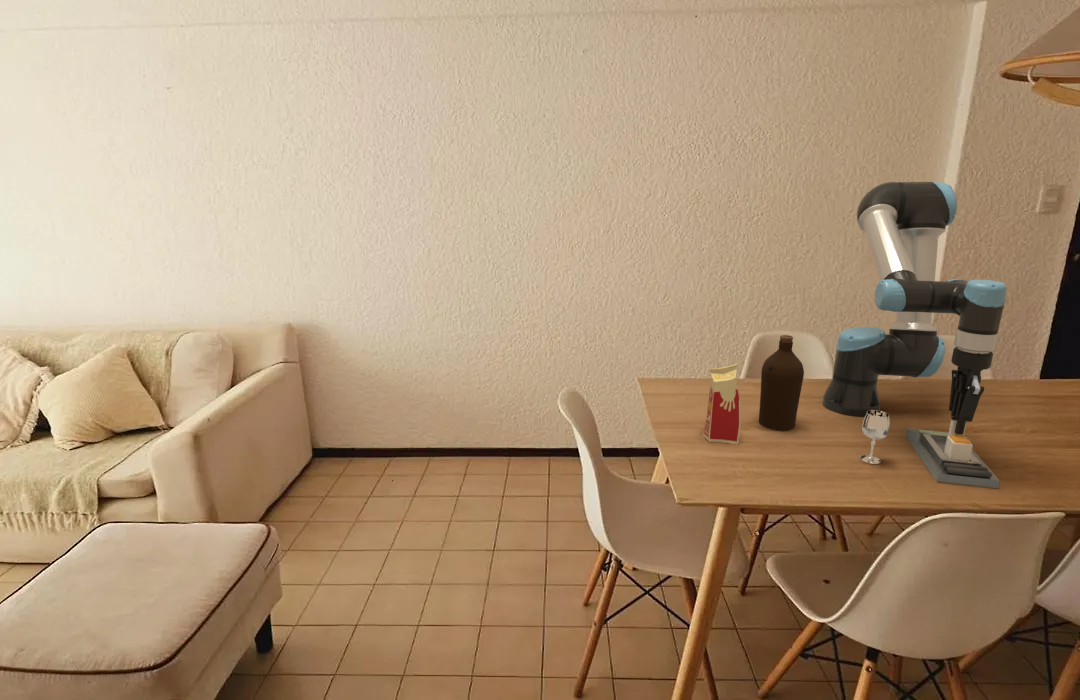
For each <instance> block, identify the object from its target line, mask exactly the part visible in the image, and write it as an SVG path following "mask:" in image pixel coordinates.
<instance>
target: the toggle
mask: <svg viewBox="0 0 1080 700" xmlns="http://www.w3.org/2000/svg"><path fill="white" fill-rule="evenodd" d="M973 447H974V444H973V443H972V442H971V440H970V439H969V438H968V437H967V436H965V435H964V436H958V435H950V436H947V440H946V445H945V450H944V454H945V455H946V457H947V458H948V459H952V460H961V461H970V456H971V452H972V449H973Z"/></svg>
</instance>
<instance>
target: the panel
mask: <svg viewBox="0 0 1080 700" xmlns="http://www.w3.org/2000/svg"><path fill="white" fill-rule="evenodd" d="M948 433H949V431H943V430H942V431H941V430H930V429H929V430H928V429H919V428H910V427H906V429H905V433H904V434H905V437H906V439H907V441H908V442H909V443H910V445H911V446H912V447H913V449H914V451H915V452H916V454H917V455H918V456H919V457H920V459H921V460H922V462H923V464H924V465H925V466H926V468H927V469H928V471H929V472H930V475H932V477H933V478H934V480H935V481H936V482H938V483H945V484H947V483H948V484H954V485H964V486H972V487H981V488H990V489H991V488H992V489H997V488H998V489H999V485H1000V481H1001V480H1000V479H999V478H998V477H997V475H996V474H995V473H994V472H993V471H992V470H991V469H990V468H989V466H988V465H987V464H986V463H985V462H984V461H983V460H982V458H981V457H980V456H979V455H978V454H977V453H976V452H975V450H974V449H973V448H972V452H971V456H970V461H961V460H952V459H948V458H947V457H946V455H945V454H944V450H945V445H946V440H947V436H948ZM944 463H953V464H962V465H972V466H981V467H986V468H988V471H989V472H991V473H992V477H990V478H986V477H977V476H968V475H959V474H950V473H947V471H946V469H944V468H943V464H944Z"/></svg>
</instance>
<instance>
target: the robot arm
mask: <svg viewBox="0 0 1080 700" xmlns="http://www.w3.org/2000/svg"><path fill="white" fill-rule="evenodd" d="M957 201H958V200H957V195H956V193H955V191H954V189H953V187H952V186H951V185H950V184H948V183H946V182H936V181H935V182H934V181H917V182H916V181H903V182H901V181H899V182H898V181H889V182H883V183H881V184H879V185H877V186H875V187H873V188H872V189H870V190H869V191H867V192H866V193H865V195H864V196H863V197H862V198H861V200H860V202H859V204H858V207H857V210H856V221H857V224H858V228H859V229H860V230H861V231H862V232H863V233H864V234H865V235H866V238H867V241H868V244H869V245H868V246H869V248H870V250H871V253H872V257H873V261H874V263H875V264H874V265H875V267H876V270H877V273H878V276H879V279H880V281H878V282H877V284H876V287H875V291H874V303H875V306H876V308H878V310H880V311H889V312H895V313H896V321H895V323H893V324H892V326H890V327H889V332H888V333H889V334H886V331H885V330H884V329H882V328H879V327H871V326H857V327H850V328H847V329H845V330H843V331H841V332H840V333H839V335H838V338H837V339H838V340H837V344H836V347H835V349H836V350H835V351H836V352H835V358H834V365H833V373H832V379H831V381H830V383H829V384H828V386H827V388H826V390H825V392H824V394H823V398H822V405H823V407H825V408H827V409H829V410H831V411H833V412H836V413H839V414H843V415H848V416H853V417H854V416H855V417H865V415H866V413H867V411H869V410H878V411H881V410H880V409H881V400H880V394H879V390H878V379H879V376H895V377H896V376H897V377H908V378H909V377H912V378H928V377H932V376H934V375H935V374H936V373H937V372H938V371H939V370H940V368H941V366H942V364H943V362H944V359H945V353H946V346H945V340H944V339H943V338H942V337H941V336H938V329H937V328H936V327H935V326H933V324H932V320H933V313H934V314H953V315H954V314H955V315H957V316H959V319H958V324H957V329H956V333H955V338H954V342H953V344H954V346H955V347H954V348H953V351H952V356H951V363H952V364H953V365H954V366H957V369H952V370H951V387H950V395H949V403H948V411H950V415H951V418H950V424H949V428H948V432H949V433H948V436H950V435H958V436H965V433H966V432H965V431H966V429H967V423H971V422H973V420H974V416H975V413H976V410H977V408H978V405H979V401H980V399H981V396H982V394H983V393H984V391H985V387H984V386H980V384H981V381H982V376H981V374H982V373H981V372H982V371H983V370H985V371H986V370H989V369H990V368H992V367H991V366H992V362H993V358H994V353H993V351H994V350H995V347H996V342H997V341H998V340H999V336H998V333H999V328H1000V324H1001V320H1002V317H1003V312H1004V307H1005V304H1006V300H1007V297H1006V296H1007V289H1008V287H1007V285H1006V284H1005V283H1003V281H996V280H992V279H990V280H989V279H971V280H964V279H957V278H953V279H951V278H950V279H948V280H946V281H940V280H939V281H938V280H937V281H936V273H937V272H936V269H937V258H938V245H939V238H940V236H941V235H942V234H943V233H945V232H946V228H947V226H950V225H952V223H953V222H954V220H955V218H956V217H955V215H956V214H957V210H958V202H957Z"/></svg>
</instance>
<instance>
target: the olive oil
mask: <svg viewBox="0 0 1080 700" xmlns="http://www.w3.org/2000/svg"><path fill="white" fill-rule="evenodd" d="M793 340H794V336H792V335H788V334H782V335H781V334H780V337H779V341H778V349H777V350H776V351H774V352H773V353H772V354H770V356H768V357H767V358H765V360H764V362H763V365H762V367H761V374H760V375H761V378H760V399H759V409H758V410H759V412H758V424H759V425H760V426H762V427H764V428H766V429H769V430H772V431H781V432H784V431H786V432H787V431H791V430H793V429H794V428H795V427H796V422H797V414H798V409H799V403H800V398H801V391H802V386H803V381H804V377H805V371H804V365H803V363H802V361H801V359H799V358H798V357H797V355H796V354H795V353H794V351H793V345H794V341H793Z"/></svg>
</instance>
